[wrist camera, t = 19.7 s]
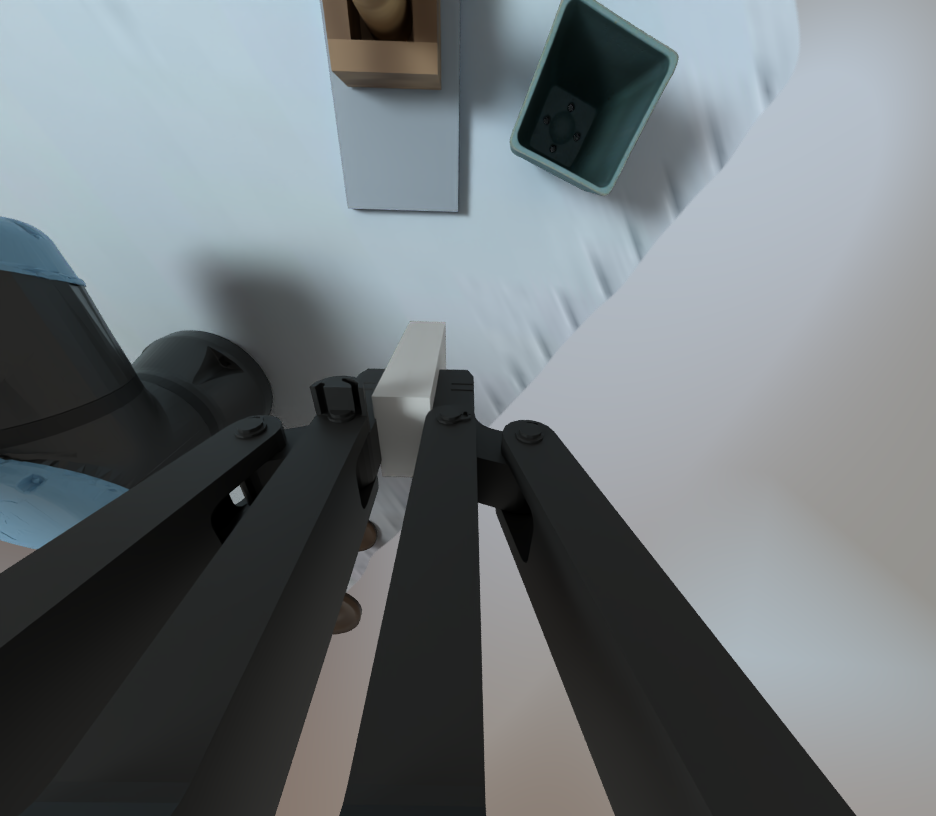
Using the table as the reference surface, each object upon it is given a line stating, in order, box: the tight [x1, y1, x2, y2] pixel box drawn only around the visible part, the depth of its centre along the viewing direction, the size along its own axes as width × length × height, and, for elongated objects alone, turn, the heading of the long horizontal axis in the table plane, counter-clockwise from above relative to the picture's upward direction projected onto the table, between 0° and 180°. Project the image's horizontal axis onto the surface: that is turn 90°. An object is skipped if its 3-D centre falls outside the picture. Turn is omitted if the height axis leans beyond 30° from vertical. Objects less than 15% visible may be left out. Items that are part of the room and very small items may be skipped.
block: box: [322, 0, 441, 90], centre depth 25 cm, size 8×8×4 cm
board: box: [320, 0, 460, 212], centre depth 28 cm, size 11×19×4 cm, turn 178°
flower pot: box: [510, 0, 678, 196], centre depth 28 cm, size 9×9×9 cm
